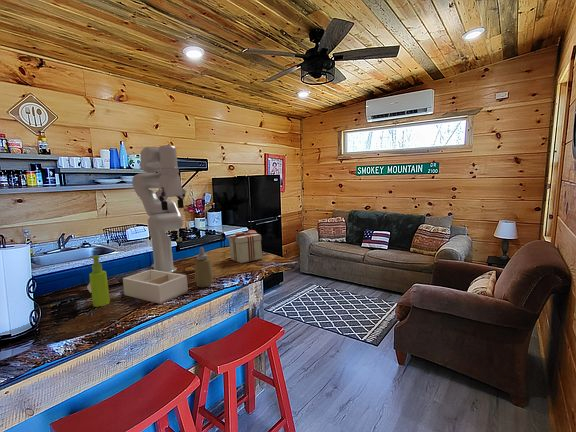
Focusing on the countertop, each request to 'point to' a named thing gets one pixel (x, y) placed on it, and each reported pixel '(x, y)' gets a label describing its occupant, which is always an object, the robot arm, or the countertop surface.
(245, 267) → the countertop surface
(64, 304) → the countertop surface
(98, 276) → the soap dispenser
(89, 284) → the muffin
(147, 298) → the caddy
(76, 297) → the countertop surface
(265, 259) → the countertop surface
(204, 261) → the squeeze bottle
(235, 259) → the gift box
